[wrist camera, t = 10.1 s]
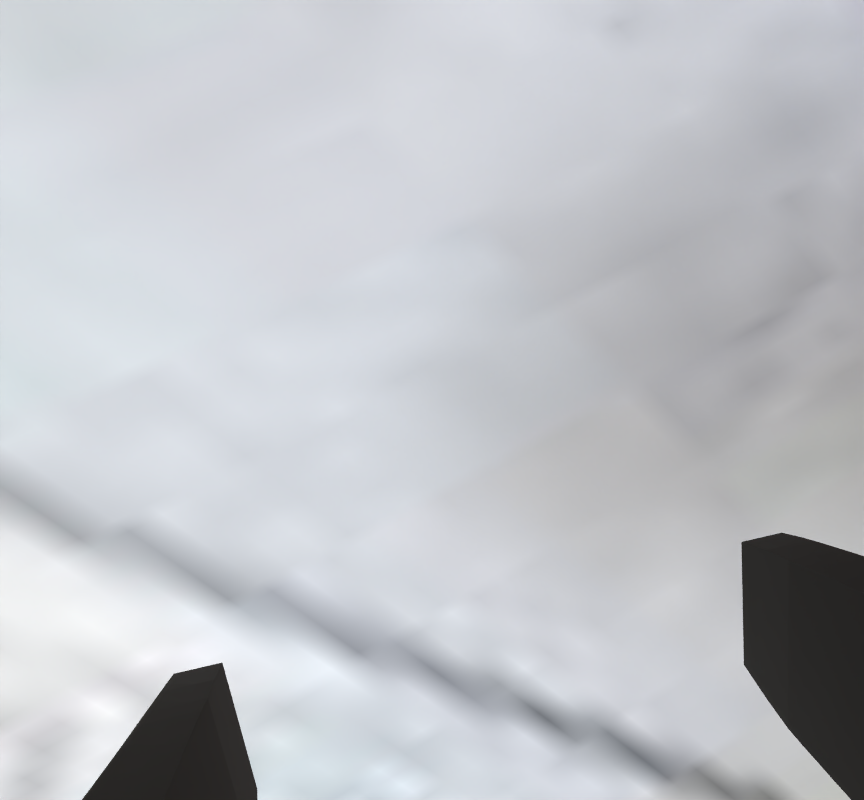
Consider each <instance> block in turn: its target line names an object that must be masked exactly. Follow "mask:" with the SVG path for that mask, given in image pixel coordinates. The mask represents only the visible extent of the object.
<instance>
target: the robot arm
mask: <svg viewBox="0 0 864 800" xmlns="http://www.w3.org/2000/svg"><path fill="white" fill-rule="evenodd" d="M742 585H743V636H744V665H745V667H746V668H747V670H748V671H749V673H750V674H751V676H752V677H753V679H754V680H755V682H756V683H757V685H758V686H759V688H760V689H761V691H762V692H763V694H764V695H765V697H766V698H767V700H768V701H769V702H770V704H771V705H772V707H773V708H774V709H775V711H776V712H777V714H778V715H779V716H780V718H781V719H782V721H783V722H784V723H785V725H786V726H787V727H788V729H789V730H790V731H791V732H792V733H793V735H794V736H795V737H796V738H797V739H798V740H799V742H800V743H801V744H802V745H803V746H804V747H805V748H806V750H807V751H808V752H809V753H810V754H811V755H812V756H813V757H814V759H815V760H816V761H817V762H818V763H819V764H820V765H821V766H822V768H823V769H824V770H825V771H826V772H827V773H828V774H829V775H830V777H831V778H832V779H833V780H834V781H835V782H836V783H837V784H838V785H839V787H840V788H841V789H842V790H843V791H844V792H845V793H846V794H847V795H848V797H849V798H850V799H851V800H864V556H861V555H858V554H855V553H852V552H848V551H845V550H842V549H839V548H836V547H832V546H829V545H826V544H823V543H819V542H816V541H812V540H809V539H805V538H801V537H798V536H793V535H789V534H785V533H779V534H774V535H770V536H766V537H762V538H757V539H753V540H749V541H744V542H742ZM82 800H257V787H256V783H255V780H254V776H253V772H252V769H251V765H250V761H249V758H248V754H247V751H246V747H245V743H244V740H243V736H242V732H241V729H240V725H239V722H238V718H237V714H236V711H235V707H234V704H233V700H232V696H231V693H230V689H229V685H228V682H227V678H226V675H225V671H224V667H223V664H222V663H219V664H214V665H210V666H206V667H202V668H197V669H193V670H189V671H184V672H180V673H176V674H173V676H172V677H171V678H170V680H169V681H168V683H167V684H166V685H165V687H164V688H163V689H162V691H161V692H160V693H159V695H158V696H157V698H156V699H155V700H154V702H153V703H152V704H151V706H150V707H149V709H148V710H147V711H146V713H145V714H144V716H143V717H142V718H141V720H140V721H139V723H138V724H137V725H136V727H135V728H134V730H133V731H132V732H131V734H130V735H129V737H128V738H127V739H126V741H125V742H124V744H123V745H122V746H121V748H120V749H119V751H118V752H117V753H116V755H115V756H114V758H113V759H112V760H111V762H110V763H109V764H108V766H107V767H106V768H105V770H104V771H103V772H102V774H101V775H100V776H99V778H98V779H97V780H96V782H95V783H94V784H93V786H92V787H91V789H90V790H89V791H88V793H87V794H86V795H85V797H84V798H83V799H82Z"/></svg>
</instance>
